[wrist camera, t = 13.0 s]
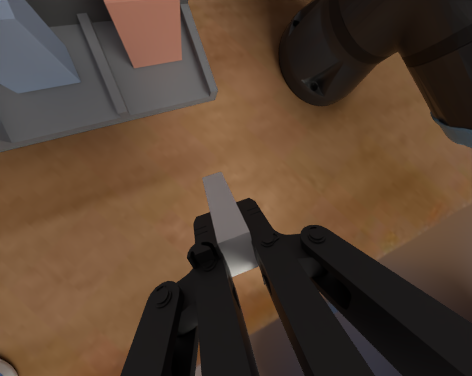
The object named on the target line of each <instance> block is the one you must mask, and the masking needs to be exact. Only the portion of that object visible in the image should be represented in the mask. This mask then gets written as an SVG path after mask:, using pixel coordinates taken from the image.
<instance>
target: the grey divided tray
mask: <svg viewBox="0 0 472 376" xmlns="http://www.w3.org/2000/svg"><path fill="white" fill-rule="evenodd" d="M25 1H26V2H27V3H28V4H29V5H30V6H31V7H32V9H33V10H34V11H35V12H36V13H37V14H38V15H39V17H40V18H41V19H42V20H43V21H44V22H45V23H46V25H47V26H48V27H49V28H50V29H51V30H52V31H53V32H54V34H55V35H56V36H57V37H58V38H59V39H60V40H61V42H62V43H63V44H64V45H65V46H66V48H67V51H68V53H69V55H70V57H71V60H72V62H73V64H74V67H75V69H76V71H77V74H78V76H79V78H80V80H81V82H80V83H74V84H69V85H63V86H57V87H52V88H46V89H41V90H35V91H30V92H24V93H16V92H14V91H12V90H10V89H8V88H7V87H5V86H3V85H1V84H0V152H3V151H7V150H11V149H15V148H19V147H23V146H28V145H32V144H36V143H40V142H44V141H48V140H52V139H56V138H60V137H65V136H69V135H73V134H77V133H81V132H85V131H89V130H93V129H97V128H101V127H106V126H110V125H114V124H118V123H122V122H126V121H130V120H134V119H138V118H143V117H147V116H151V115H155V114H159V113H163V112H167V111H171V110H175V109H180V108H184V107H188V106H192V105H196V104H200V103H204V102H208V101H212V100H215V98H216V95H217V92H218V89H217V86H216V83H215V81H214V78H213V75H212V72H211V69H210V66H209V63H208V60H207V57H206V55H205V52H204V49H203V46H202V43H201V40H200V37H199V34H198V31H197V29H196V26H195V23H194V20H193V17H192V14H191V11H190V8H189V5H188V0H180V21H181V48H182V60H180V61H174V62H168V63H163V64H157V65H151V66H145V67H140V68H134V67H133V65H132V62H131V60H130V58H129V56H128V53H127V51H126V49H125V47H124V45H123V42H122V40H121V38H120V36H119V34H118V31H117V29H116V27H115V25H114V22H113V20H112V18H111V16H110V14H109V11H108V9H107V7H106V5H105V2H104V0H25Z"/></svg>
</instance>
